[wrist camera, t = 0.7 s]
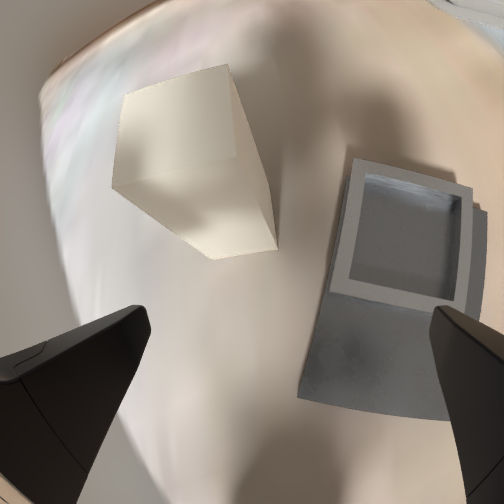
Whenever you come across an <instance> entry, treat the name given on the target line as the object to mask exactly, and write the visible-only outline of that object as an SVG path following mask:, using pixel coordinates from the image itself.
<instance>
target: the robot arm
mask: <svg viewBox="0 0 504 504" xmlns="http://www.w3.org/2000/svg"><path fill="white" fill-rule="evenodd" d="M150 334H151V326H150V322H149V319H148V315H147V311H146V308H145V307H144V306H142V305H131V306H128V307H126V308H124V309H121V310H119V311H116V312H114V313H112V314H109V315H107V316H104V317H102V318H100V319H97V320H95V321H92V322H90V323H88V324H85V325H83V326H80V327H78V328H76V329H73V330H71V331H68V332H66V333H64V334H61V335H59V336H56V337H54V338H52V339H49V340H48V341H44V342H42V343H39V344H37V345H34V346H32V347H29V348H27V349H24V350H21V351H19V352H16V353H13V354H10V355H7V356H4V357H1V358H0V504H76V503H77V501H78V498H79V496H80V493H81V491H82V489H83V486H84V484H85V481H86V479H87V477H88V474H89V472H90V470H91V467H92V465H93V463H94V460H95V458H96V456H97V454H98V451H99V449H100V447H101V445H102V443H103V441H104V438H105V436H106V434H107V432H108V430H109V427H110V425H111V423H112V421H113V419H114V417H115V415H116V413H117V410H118V408H119V406H120V404H121V402H122V400H123V398H124V396H125V394H126V392H127V390H128V388H129V386H130V384H131V381H132V379H133V377H134V375H135V373H136V371H137V369H138V366H139V364H140V361H141V358H142V355H143V353H144V350H145V347H146V345H147V342H148V339H149V337H150ZM429 338H430V342H431V347H432V351H433V356H434V361H435V366H436V371H437V375H438V379H439V383H440V386H441V389H442V393H443V396H444V399H445V403H446V407H447V410H448V414H449V418H450V421H451V425H452V429H453V433H454V438H455V442H456V446H457V451H458V455H459V460H460V465H461V471H462V476H463V482H464V488H465V494H466V498H467V499H466V502H467V504H504V335H503V334H501V333H499V332H497V331H496V330H494V329H492V328H490V327H488V326H486V325H484V324H483V323H481V322H479V321H477V320H475V319H473V318H471V317H469V316H468V315H466V314H464V313H462V312H460V311H458V310H456V309H454V308H452V307H450V306H448V305H440V306H436V307H435V308H434V311H433V315H432V320H431V324H430V328H429Z"/></svg>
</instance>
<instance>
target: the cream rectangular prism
mask: <svg viewBox="0 0 504 504" xmlns="http://www.w3.org/2000/svg"><path fill="white" fill-rule="evenodd" d="M112 189H114V190H115V191H116V192H118V193H119V194H120V195H122V196H123V197H125V198H126V199H127V200H129V201H130V202H131V203H133V204H134V205H136V206H137V207H138V208H140V209H141V210H142V211H144V212H145V213H147V214H148V215H149V216H151V217H152V218H153V219H155V220H156V221H158V222H159V223H160V224H162V225H163V226H165V227H166V228H167V229H169V230H170V231H172V232H173V233H174V234H176V235H177V236H179V237H180V238H182V239H183V240H184V241H186V242H187V243H189V244H190V245H191V246H193V247H194V248H196V249H197V250H199V251H200V252H201V253H203V254H204V255H206V256H207V257H209V258H210V259H211V260H212V259H219V258H225V257H232V256H239V255H245V254H252V253H259V252H265V251H272V250H278V245H277V238H276V230H275V223H274V216H273V209H272V201H271V194H270V187H269V184H268V181H267V178H266V175H265V172H264V169H263V166H262V163H261V160H260V157H259V154H258V150H257V147H256V144H255V141H254V138H253V136H252V133H251V130H250V127H249V124H248V121H247V118H246V115H245V112H244V109H243V106H242V103H241V100H240V98H239V95H238V92H237V89H236V86H235V83H234V81H233V78H232V75H231V72H230V69H229V67H228V64H224V65H220V66H216V67H212V68H208V69H204V70H200V71H196V72H193V73H189V74H186V75H182V76H179V77H176V78H172V79H169V80H166V81H163V82H160V83H157V84H154V85H151V86H148V87H145V88H142V89H140V90H137V91H134V92H131V93H129V94H126V95H124V99H123V104H122V110H121V116H120V122H119V129H118V135H117V143H116V150H115V159H114V168H113V178H112Z"/></svg>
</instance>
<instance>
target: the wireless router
mask: <svg viewBox="0 0 504 504" xmlns="http://www.w3.org/2000/svg"><path fill="white" fill-rule="evenodd" d="M426 1H427V2H429V3H430V4H431V5H432V6H434V7H436V8H437V9H439V10H441V11H443V12H444V13H446V14H449V15H451V16H453V17H455V18H458V19H461V20H464V21H469V22H473V23H478V24H482V25H486V26H490V27H494V28H497V29H501V30H504V0H426Z"/></svg>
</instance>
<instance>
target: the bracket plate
mask: <svg viewBox="0 0 504 504" xmlns="http://www.w3.org/2000/svg"><path fill="white" fill-rule="evenodd" d="M486 252H487V212H486V211H483V210H480V209H477V208H473V188H470V187H466V186H463V185H460V184H457V183H453V182H450V181H447V180H443V179H440V178H436V177H433V176H429V175H425V174H422V173H418V172H414V171H410V170H406V169H402V168H398V167H394V166H390V165H385V164H381V163H377V162H372V161H367V160H363V159H358V158H354V159H353V164H352V169H351V176H347V179H346V185H345V191H344V197H343V203H342V208H341V214H340V219H339V225H338V230H337V235H336V240H335V246H334V250H333V255H332V260H331V265H330V270H329V274H328V279H327V283H326V288H325V292H324V296H323V301H322V305H321V309H320V313H319V317H318V321H317V325H316V329H315V333H314V337H313V341H312V345H311V349H310V352H309V356H308V360H307V363H306V367H305V371H304V374H303V378H302V381H301V385H300V388H299V391H298V395H297V398H302V399H306V400H310V401H315V402H319V403H324V404H329V405H334V406H339V407H344V408H349V409H355V410H361V411H367V412H373V413H379V414H386V415H393V416H401V417H409V418H418V419H428V420H439V421H450V418H449V414H448V410H447V407H446V403H445V399H444V396H443V393H442V389H441V386H440V383H439V379H438V375H437V371H436V366H435V361H434V356H433V351H432V347H431V342H430V338H429V328H430V324H431V320H432V315H433V311H434V308H435V307H436V306H440V305H448V306H450V307H452V308H454V309H456V310H458V311H460V312H462V313H464V314H466V315H468V316H469V317H471V318H473V319H475V320H477V321H479V318H480V312H481V305H482V297H483V289H484V279H485V267H486Z"/></svg>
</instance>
